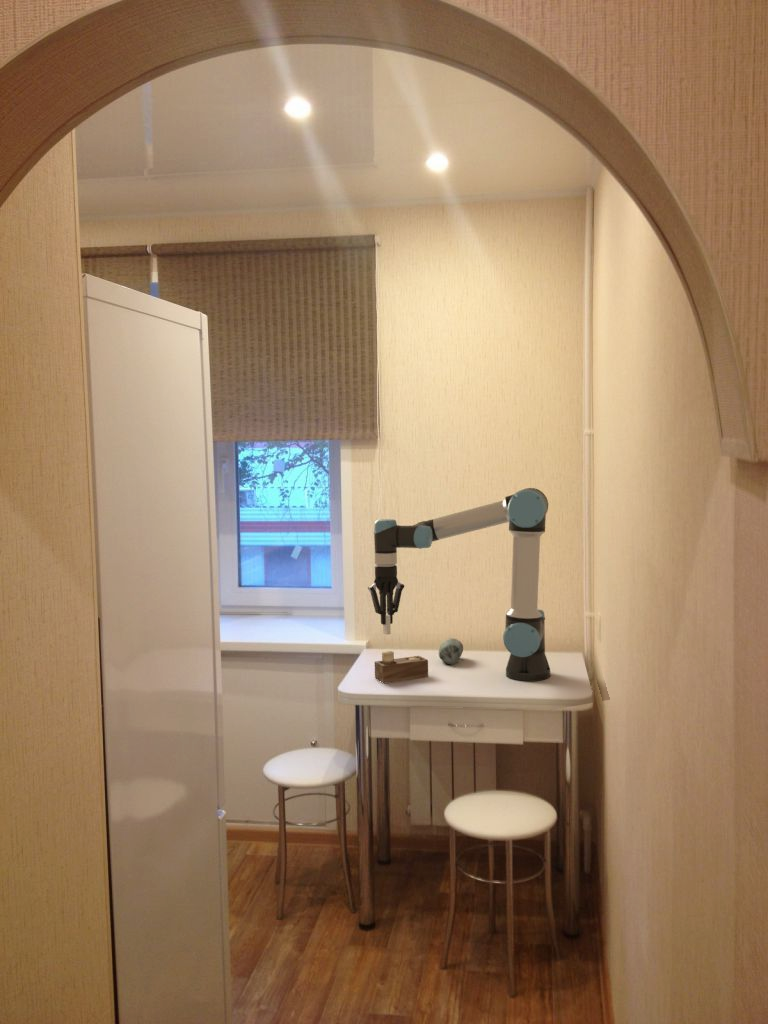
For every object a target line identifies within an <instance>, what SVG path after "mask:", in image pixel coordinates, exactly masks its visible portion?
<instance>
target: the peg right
mask: <svg viewBox="0 0 768 1024" xmlns="http://www.w3.org/2000/svg"><path fill="white" fill-rule="evenodd" d="M417 660H420V658H409V661H417Z"/></svg>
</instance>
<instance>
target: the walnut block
mask: <svg viewBox="0 0 768 1024" xmlns="http://www.w3.org/2000/svg"><path fill="white" fill-rule="evenodd" d="M409 658H420V660H417V661H409ZM375 678H376V679H378V680H379V681H378V680H377V681H378V682H380V681H381V682H380V683H382V682H383V683H384V684H386V683H385V682H390V683H396V682H395V681H397V682H402V681H403V680H404V681H409V680H417V679H423V678H424V679H425V678H429V659H427V658H425V657H422V656H420V655H413V656H407V657H406V656H405V657H399V658H394V664H388V665H384V664H382V660H378V661H374V679H375ZM376 679H375V680H376ZM383 683H382V684H383Z"/></svg>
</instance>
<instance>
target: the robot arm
mask: <svg viewBox="0 0 768 1024" xmlns="http://www.w3.org/2000/svg"><path fill="white" fill-rule="evenodd" d="M548 511H549V500H548V498H547V496H546V495H545V493H544V492H543V491H541V490H540V489H537V488H535V487H527V488H524V489H521V490H520V489H519V490H518V491H517V492H515V493H514V494H510V495H508V496H505V497H504V498H503V500H499V501H497V502H492V503H488V504H484V505H480V506H477V507H473V508H471V509H467V510H462V511H458V512H455V513H451V514H447V515H444V516H439V517H436V518H432V519H429V520H425V521H424V520H423V521H419V522H417V523H415V524H413V525H398V524H397V520H396V519H392V518H391V519H389V518H386V519H385V518H383V519H382V518H381V519H377V520H375V522H374V532H373V535H374V536H373V538H374V564H375V566H374V576H375V577H374V581H373V584H371V585H369V586H368V587H367V590H368V591H369V593H370V596H371V600H372V604H373V607H374V613H376V614H378V615H380V623H381V625H382V631H383V632H382V633H383V634H385V635H391V625H392V624H394V623H393V615H395V613H398V611H399V607H400V602H401V598H402V597H401V596H402V593H403V590H404V589H405V584H403V583H400V582H399V579H398V566H397V565H396V564H398V554H397V553H398V551H397V548H399V549H401V548H403V549H404V548H405V549H406V548H407V549H428V548H430V547H431V546H432V544H433V542H436V541H440V540H443V539H447V538H451V537H454V536H459V535H463V534H467V533H471V532H475V531H480V530H483V529H487V528H490V527H494V526H498V525H502V524H506V523H508V531H509V532H510V534H512V536H513V538H512V539H513V540H512V561H511V562H512V564H511V566H512V567H511V590H510V593H511V594H510V595H511V596H510V608H509V609H508V610H507V611H506V613H505V626H504V627H505V630H504V632H503V636H502V641H503V645H504V647H505V649H506V650H507V651H508V652H509V653H510V654H509V658H508V661H507V665H506V667H505V676H506V677H507V678H509V679H512V680H514V681H515V680H516V681H524V682H530V681H531V682H532V681H533V682H534V681H541V680H546V679H547V680H548V679H549V678H550V677H551V668H550V665H549V661H548V658H547V655H546V642H545V641H546V636H545V635H546V634H545V633H546V631H545V630H546V628H545V625H546V623H545V621H546V617H545V612H544V610H543V609H538V603H539V600H538V599H539V598H538V597H539V577H540V575H539V574H540V546H541V536H542V535H543V534H545V532H546V518H547V515H546V514H547V513H548ZM377 590H378V593H377ZM378 594H379V596H378Z"/></svg>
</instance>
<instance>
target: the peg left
mask: <svg viewBox="0 0 768 1024" xmlns="http://www.w3.org/2000/svg"><path fill="white" fill-rule="evenodd" d="M394 652H395V651H392V650H385V651H381V661H382V664H384V665H388V664H394V659H395V655H394V654H395V653H394Z"/></svg>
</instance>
